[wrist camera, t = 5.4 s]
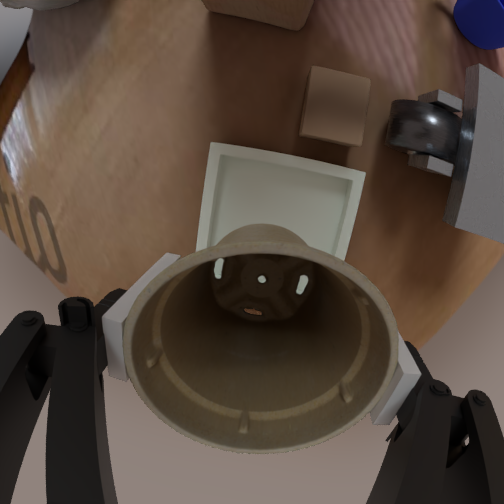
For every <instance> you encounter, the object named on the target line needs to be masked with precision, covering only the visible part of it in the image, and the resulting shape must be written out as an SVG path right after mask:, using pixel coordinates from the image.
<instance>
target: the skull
mask: <svg viewBox="0 0 504 504" xmlns="http://www.w3.org/2000/svg"><path fill="white" fill-rule="evenodd" d="M77 1H79V0H0V2H1V3H2V5H3V6H5V7H9V8H14V9H20V8H24V7H28V8H32V9H35V10H50V9H57V8H63V7H66V6H68V5H71V4H74V3H75V2H77Z"/></svg>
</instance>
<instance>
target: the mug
mask: <svg viewBox="0 0 504 504" xmlns="http://www.w3.org/2000/svg"><path fill="white" fill-rule="evenodd" d="M453 13H454V19H455V22H456V24H457V26H458V28H459V30H460V31H461V33H462V34H463V35H464V36H465V37H466V38H467V39H468V40H469V41H470V42H471V43H472V44H474V45H475V46H477V47H479V48H482V49H487V50H492V49H498V48H502V47H504V0H457V2H456V4H455V6H454V12H453Z"/></svg>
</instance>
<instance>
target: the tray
mask: <svg viewBox="0 0 504 504" xmlns="http://www.w3.org/2000/svg"><path fill="white" fill-rule="evenodd" d="M365 175H366V172H362V171H358V170H355V169H351V168H347V167H343V166H338V165H334V164H330V163H326V162H321V161H317V160H312V159H307V158H303V157H298V156H293V155H288V154H283V153H278V152H272V151H267V150H261V149H255V148H249V147H243V146H237V145H230V144H223V143H216V142H211V144H210V150H209V157H208V163H207V170H206V176H205V183H204V190H203V197H202V205H201V212H200V220H199V228H198V236H197V245H196V252H197V251H200V250H202V249H205V248H209V247H212V246H215V245H216V244H218V242H219V241H220V240H221V239H222V238H223V237H225V236H226V235H227V234H229V233H230V232H232V231H234V230H236V229H238V228H241V227H243V226H246V225H250V224H261V223H264V224H273V225H278V226H281V227H284V228H286V229H288V230H290V231H292V232H294V233H295V234H297V235H298V236H299V237H300V238H301V239H303V240H304V241H305V242H306V244H307V245H308V246H310V247H313V248H315V249H318V250H321V251H324V252H326V253H329V254H331V255H333V256H335V257H337V258H339V259H341V260H343V261H344V260H345V256H346V252H347V249H348V245H349V241H350V238H351V234H352V230H353V226H354V222H355V218H356V214H357V210H358V206H359V201H360V197H361V193H362V188H363V184H364V179H365ZM223 262H224V260H223V259H222V258H219V259H218V260H217V261H216V263H215V268H214V273H215V277H216V278H218V279H220V278H221V271H222V265H223ZM258 280H259V282H261V283H264V282H265V281H266V279H265V277H264V276H260V277H259V278H258ZM307 283H308V277H307V276H305V275H301V276H300V281H299V284H298V287H297V290H296V292H297V293H298V294H302V293H303V291H304V288H305V287H306V285H307Z"/></svg>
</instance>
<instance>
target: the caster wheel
mask: <svg viewBox="0 0 504 504" xmlns="http://www.w3.org/2000/svg"><path fill="white" fill-rule="evenodd" d="M461 110H462V100H461V99H459V98H457V97H455V96H453V95H451V94H449V93H446V92H444V91H442V90H440V89H438V90H435V91H432V92H429V93H426V94H423V95H420V96H418V101H415V100H395V101H393V102H392V104H391V111H390V117H389V123H388V129H387V135H386V141H385V145H386V146H388V147H390V148H392V149H395V150H398V151H400V152H403V153H406V154H408V155H409V159H408V164H407V165H410V166H413V167H416V168H419V169H422V170H425V171H427V172H431V173H436V174H441V175H445V176H450V177H451V174H452V169H453V166H455V168H454V173H453V178H452V182H451V187H450V191H449V196H448V200H447V204H446V208H445V212H444V216H443V219H442V221H444V222H446V223H448V224H450V225H452V226H453V227H456V228H459V229H462V230H465V231H468V232H471V233H474V234H477V235H480V236H483V237H486V238H489V239H492V240H495V241H498V242H501V243H503V244H504V78H502V77H501V76H499V75H498V74H496V73H495V72H493V71H492V70H490V69H488V68H487V67H485V66H483V65H482V64H480V63H478V64H476V65H473V66H470V67H467V68H466V80H465V95H464V106H463V116H462V119H461V118H460V117H458V116H457V115H456V114H454V113H453V112H460V111H461Z"/></svg>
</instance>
